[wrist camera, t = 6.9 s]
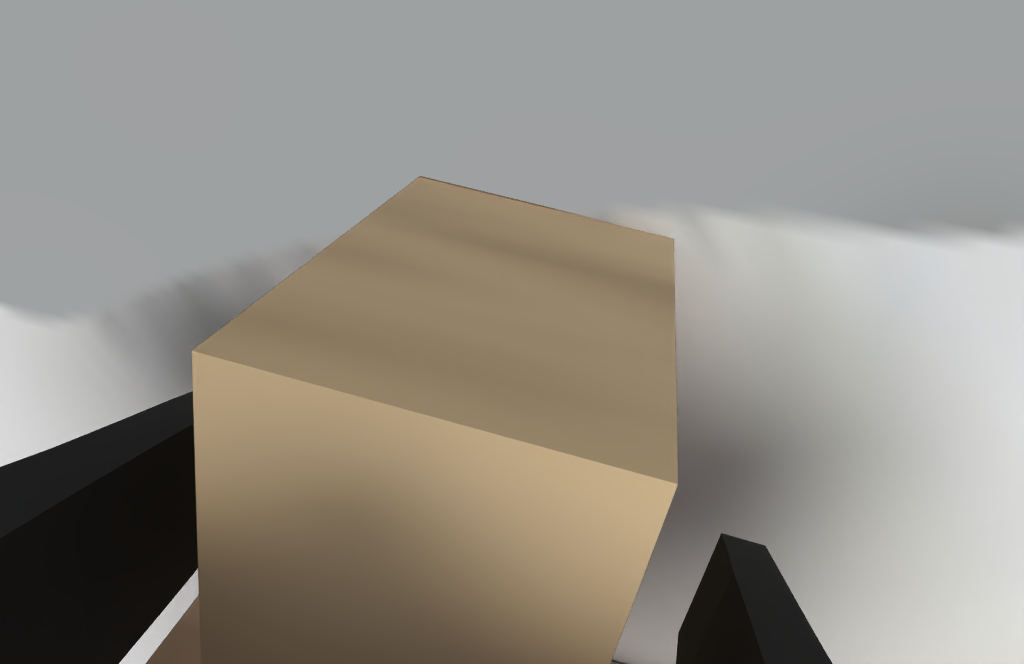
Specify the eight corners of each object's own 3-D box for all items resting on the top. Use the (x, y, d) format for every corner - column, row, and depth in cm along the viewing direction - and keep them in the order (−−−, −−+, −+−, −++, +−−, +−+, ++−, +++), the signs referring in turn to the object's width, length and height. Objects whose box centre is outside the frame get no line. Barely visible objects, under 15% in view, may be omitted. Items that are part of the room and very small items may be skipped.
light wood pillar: (514, 752, 17) (442, 1107, 11) (353, 701, 17) (211, 1023, 12) (673, 237, 11) (678, 483, 5) (420, 176, 11) (191, 350, 6)
